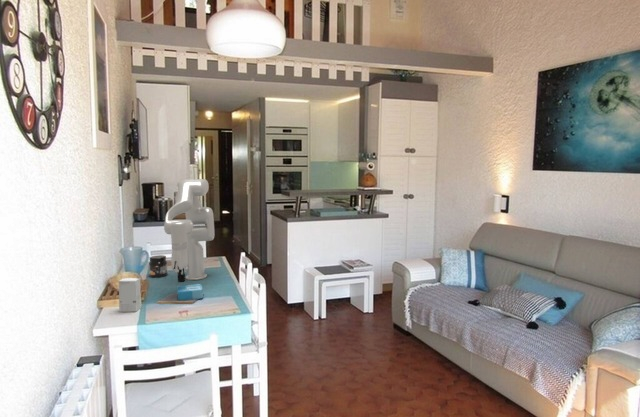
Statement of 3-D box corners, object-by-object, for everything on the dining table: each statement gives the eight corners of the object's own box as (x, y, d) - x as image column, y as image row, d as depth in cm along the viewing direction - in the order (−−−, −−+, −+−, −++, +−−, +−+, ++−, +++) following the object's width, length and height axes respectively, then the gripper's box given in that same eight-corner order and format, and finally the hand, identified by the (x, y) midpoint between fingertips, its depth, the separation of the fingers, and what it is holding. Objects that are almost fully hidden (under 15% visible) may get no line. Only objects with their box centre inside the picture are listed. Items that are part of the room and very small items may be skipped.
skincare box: (119, 312, 209) (117, 280, 207) (125, 308, 215) (122, 277, 213) (137, 311, 209) (135, 280, 207) (142, 307, 215) (140, 277, 213)
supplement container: (147, 276, 279) (146, 257, 278) (163, 273, 286) (162, 254, 285) (153, 278, 271) (152, 259, 270) (170, 275, 278) (169, 256, 277)
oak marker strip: (158, 302, 222) (158, 301, 221) (193, 303, 219) (193, 301, 219) (157, 303, 220) (156, 301, 220) (192, 304, 218) (192, 302, 218)
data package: (201, 283, 236) (202, 289, 225) (201, 292, 237) (203, 298, 226) (177, 286, 233) (177, 292, 221) (177, 294, 233) (178, 301, 222)
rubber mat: (171, 294, 235) (171, 293, 235) (204, 295, 233) (203, 294, 233) (158, 302, 222) (158, 301, 222) (193, 303, 219) (193, 302, 219)
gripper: (178, 243, 234) (180, 278, 235) (165, 249, 219) (167, 285, 221) (192, 243, 233) (194, 278, 234) (180, 248, 218) (182, 285, 220)
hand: (181, 281), depth 228 cm, fingers closed
